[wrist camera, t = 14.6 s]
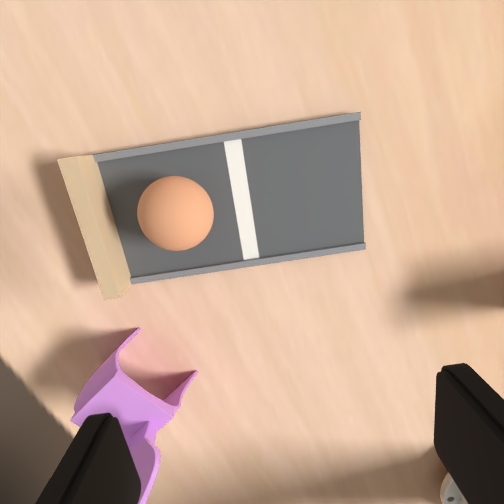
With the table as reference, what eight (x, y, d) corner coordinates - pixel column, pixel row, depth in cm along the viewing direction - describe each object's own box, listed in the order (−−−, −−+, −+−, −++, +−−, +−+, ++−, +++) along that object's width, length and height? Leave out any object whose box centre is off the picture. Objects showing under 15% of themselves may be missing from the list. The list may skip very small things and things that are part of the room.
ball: (112, 187, 23) (150, 175, 28) (133, 264, 25) (165, 239, 30) (191, 178, 22) (215, 167, 27) (207, 260, 24) (226, 234, 29)
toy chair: (141, 317, 33) (63, 447, 19) (204, 366, 35) (178, 515, 21) (93, 366, 35) (-10, 518, 21) (157, 409, 37) (103, 574, 23)
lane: (355, 113, 27) (373, 108, 24) (361, 245, 31) (377, 259, 27) (82, 157, 28) (56, 159, 24) (120, 281, 32) (103, 300, 28)
